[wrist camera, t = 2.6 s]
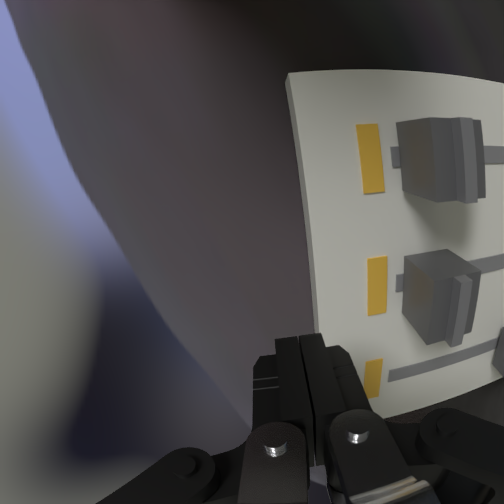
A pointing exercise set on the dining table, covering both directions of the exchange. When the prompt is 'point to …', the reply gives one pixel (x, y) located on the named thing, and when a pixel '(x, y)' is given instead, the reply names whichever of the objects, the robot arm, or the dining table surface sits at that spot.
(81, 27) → the dining table surface
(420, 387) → the switch panel
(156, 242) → the dining table surface
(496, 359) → the back switch
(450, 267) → the middle switch
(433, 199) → the front switch
